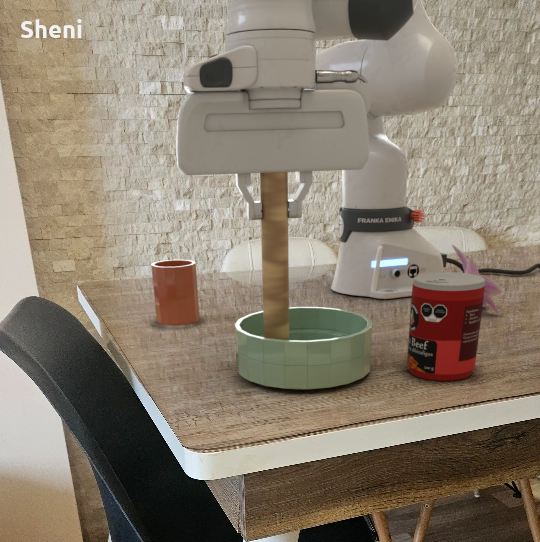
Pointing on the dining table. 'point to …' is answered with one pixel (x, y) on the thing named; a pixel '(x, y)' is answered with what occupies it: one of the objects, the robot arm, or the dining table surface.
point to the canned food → (444, 325)
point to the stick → (275, 254)
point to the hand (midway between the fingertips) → (274, 218)
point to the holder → (175, 292)
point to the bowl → (305, 349)
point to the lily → (490, 285)
